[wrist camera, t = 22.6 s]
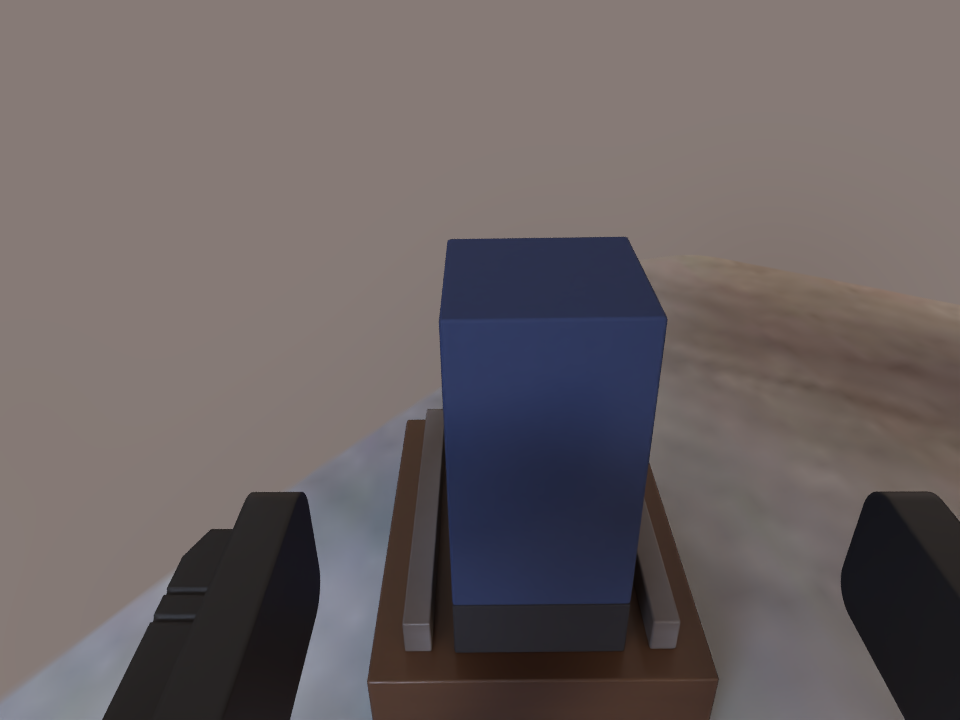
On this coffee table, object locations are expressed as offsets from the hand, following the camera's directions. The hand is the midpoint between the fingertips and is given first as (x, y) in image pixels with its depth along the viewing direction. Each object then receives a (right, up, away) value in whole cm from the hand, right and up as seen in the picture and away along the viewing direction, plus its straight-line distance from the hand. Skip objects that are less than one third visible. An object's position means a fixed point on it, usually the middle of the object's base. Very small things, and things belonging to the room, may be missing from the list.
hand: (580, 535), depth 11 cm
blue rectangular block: (0, -3, +15) cm, 16 cm away
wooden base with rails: (0, -6, +17) cm, 18 cm away
